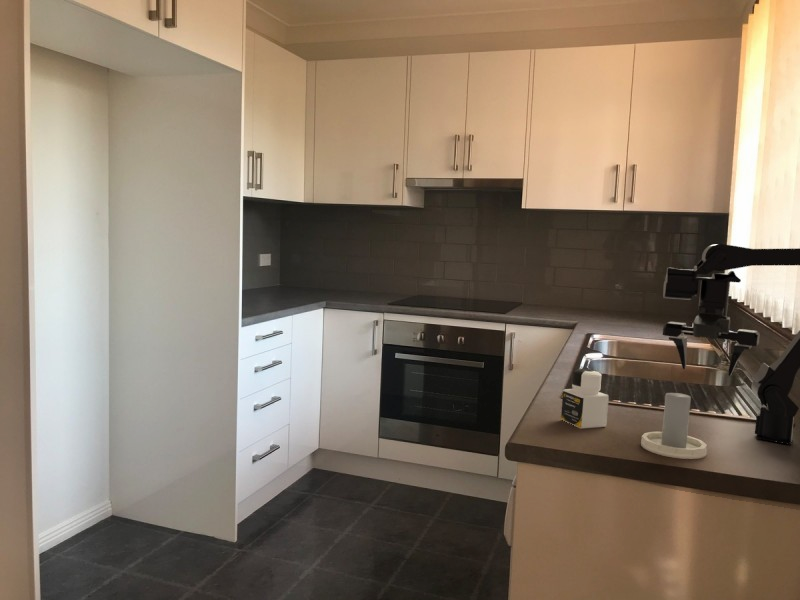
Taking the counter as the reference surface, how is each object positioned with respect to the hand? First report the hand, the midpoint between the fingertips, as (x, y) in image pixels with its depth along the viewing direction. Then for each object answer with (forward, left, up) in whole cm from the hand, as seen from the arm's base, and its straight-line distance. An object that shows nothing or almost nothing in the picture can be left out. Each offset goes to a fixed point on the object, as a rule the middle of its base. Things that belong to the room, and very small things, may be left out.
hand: (706, 372), depth 147 cm
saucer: (+2, +20, -13) cm, 24 cm away
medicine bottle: (+22, +14, -13) cm, 29 cm away
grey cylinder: (+2, +20, -12) cm, 23 cm away
